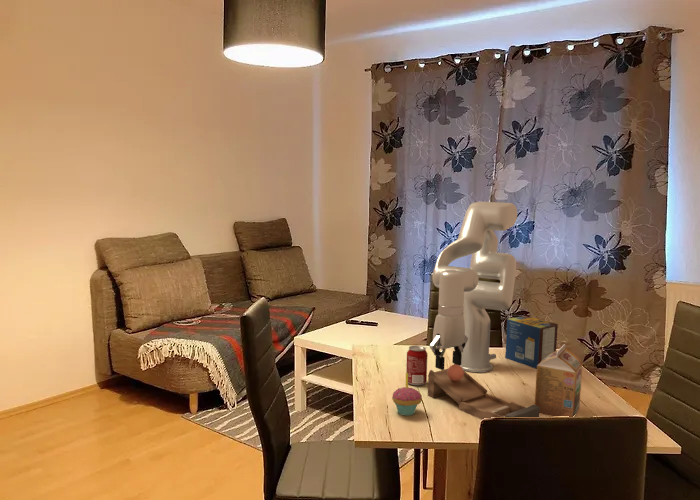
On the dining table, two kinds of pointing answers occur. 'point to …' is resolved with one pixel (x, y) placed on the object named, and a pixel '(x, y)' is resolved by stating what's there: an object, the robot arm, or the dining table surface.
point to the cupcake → (406, 399)
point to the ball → (455, 372)
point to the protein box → (530, 340)
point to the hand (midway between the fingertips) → (448, 366)
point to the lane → (475, 397)
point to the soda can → (417, 365)
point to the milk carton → (559, 383)
